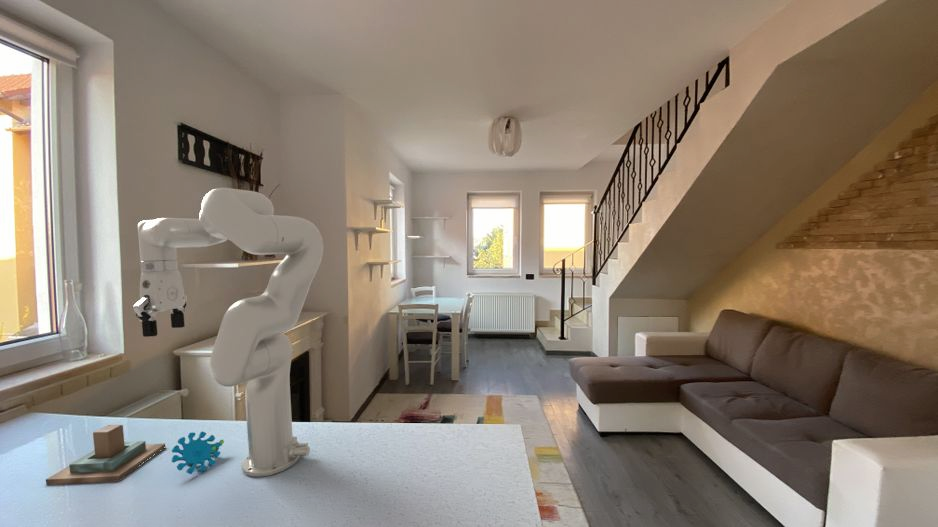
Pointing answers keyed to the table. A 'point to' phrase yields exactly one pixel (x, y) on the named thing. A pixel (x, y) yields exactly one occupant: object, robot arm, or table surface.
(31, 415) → the table surface
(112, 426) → the wooden block
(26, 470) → the table surface
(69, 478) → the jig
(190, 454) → the gear
